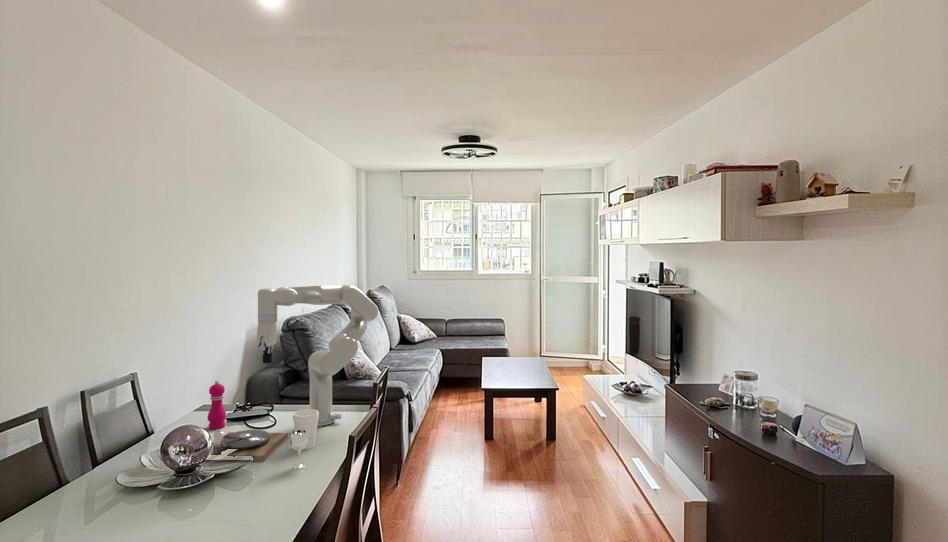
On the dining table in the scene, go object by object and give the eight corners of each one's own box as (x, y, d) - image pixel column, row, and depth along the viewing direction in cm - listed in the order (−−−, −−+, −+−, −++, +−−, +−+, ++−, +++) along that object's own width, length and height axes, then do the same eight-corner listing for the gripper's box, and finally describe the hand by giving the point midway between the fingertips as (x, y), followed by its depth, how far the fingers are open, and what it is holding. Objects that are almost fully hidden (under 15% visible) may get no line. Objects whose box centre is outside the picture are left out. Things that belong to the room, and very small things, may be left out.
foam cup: (287, 449, 194) (287, 415, 194) (301, 441, 203) (301, 408, 203) (310, 451, 192) (310, 417, 191) (323, 443, 201) (323, 410, 200)
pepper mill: (220, 430, 215) (221, 382, 214) (203, 429, 215) (203, 382, 215) (229, 424, 222) (229, 378, 222) (213, 424, 222) (213, 378, 222)
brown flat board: (288, 437, 206) (288, 432, 206) (263, 461, 182) (263, 455, 182) (224, 437, 206) (224, 431, 206) (191, 460, 182) (191, 454, 182)
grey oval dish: (247, 431, 206) (247, 413, 206) (279, 437, 198) (279, 419, 198) (199, 448, 186) (198, 429, 186) (231, 456, 179) (231, 436, 179)
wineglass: (286, 467, 177) (286, 433, 177) (299, 461, 182) (299, 428, 182) (298, 470, 174) (298, 435, 174) (311, 464, 180) (311, 430, 179)
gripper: (265, 316, 219) (265, 359, 219) (250, 320, 204) (250, 366, 204) (283, 316, 219) (283, 359, 219) (269, 320, 204) (269, 366, 204)
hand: (267, 362), depth 212 cm, fingers closed
